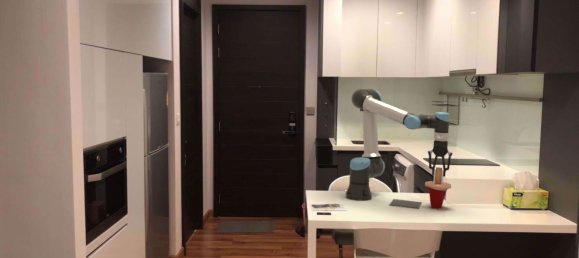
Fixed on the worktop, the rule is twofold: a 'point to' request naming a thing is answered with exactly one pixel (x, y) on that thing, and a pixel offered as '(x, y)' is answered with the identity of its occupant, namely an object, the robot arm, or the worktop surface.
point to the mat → (405, 203)
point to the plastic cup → (437, 197)
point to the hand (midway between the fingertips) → (438, 181)
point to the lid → (438, 181)
